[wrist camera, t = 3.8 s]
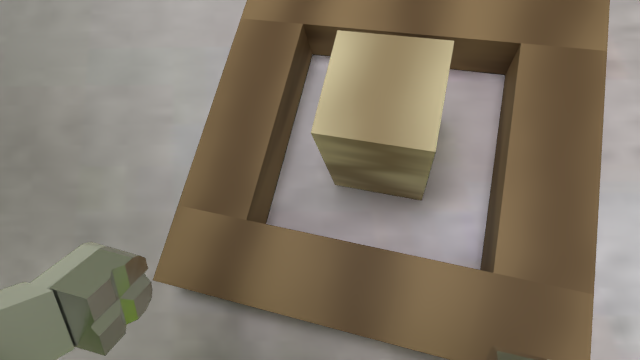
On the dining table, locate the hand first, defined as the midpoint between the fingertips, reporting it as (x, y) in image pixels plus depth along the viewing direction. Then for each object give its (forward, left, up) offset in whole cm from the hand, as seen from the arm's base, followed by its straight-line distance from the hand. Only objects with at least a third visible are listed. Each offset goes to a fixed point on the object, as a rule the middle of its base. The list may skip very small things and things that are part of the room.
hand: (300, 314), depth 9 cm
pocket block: (0, +9, -13) cm, 16 cm away
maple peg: (0, +9, -13) cm, 16 cm away
